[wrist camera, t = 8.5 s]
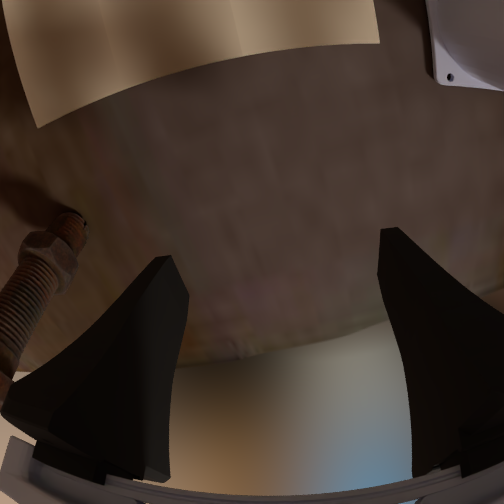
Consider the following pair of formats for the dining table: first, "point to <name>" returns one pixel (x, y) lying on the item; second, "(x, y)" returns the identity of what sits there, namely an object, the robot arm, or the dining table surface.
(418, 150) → the dining table surface
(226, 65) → the dining table surface
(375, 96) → the dining table surface
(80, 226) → the bolt
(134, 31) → the birch block
